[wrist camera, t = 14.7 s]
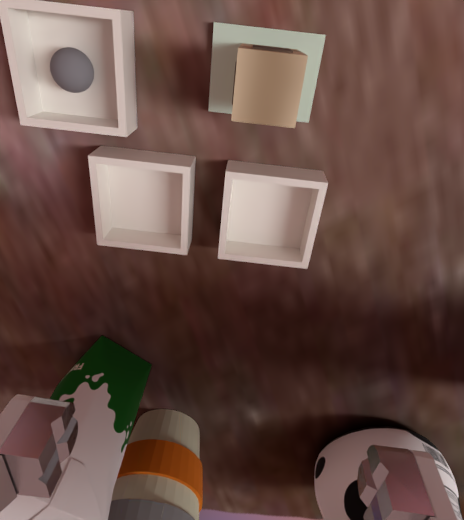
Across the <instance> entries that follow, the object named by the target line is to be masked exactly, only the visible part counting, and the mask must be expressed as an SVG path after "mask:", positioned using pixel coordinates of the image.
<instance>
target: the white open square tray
mask: <svg viewBox="0 0 464 520" xmlns="http://www.w3.org/2000/svg"><path fill="white" fill-rule="evenodd" d="M327 186H328V181H327V179H326V177H325V175H324V172H323V171H321V170H312V169H303V168H295V167H286V166H277V165H268V164H260V163H251V162H242V161H233V160H228V163H227V167H226V172H225V183H224V194H223V205H222V216H221V227H220V238H219V249H218V259H225V260H234V261H243V262H251V263H260V264H269V265H278V266H287V267H295V268H304V269H307V268H308V264H309V260H310V256H311V252H312V248H313V244H314V240H315V235H316V231H317V227H318V223H319V219H320V215H321V211H322V207H323V202H324V198H325V194H326V190H327Z"/></svg>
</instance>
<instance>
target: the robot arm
mask: <svg viewBox="0 0 464 520" xmlns="http://www.w3.org/2000/svg"><path fill="white" fill-rule="evenodd" d="M74 412H75V406H74V403H73V402H66V401H59V400H52V399H46V398H39V397H34V396H27V395H20V394H17V395H16V396H14V397H13V398H12V399H11V400H10V401H9V403H8V404H7V406H6V407H5V408H4V410H3V411H2V413H1V414H0V512H1V511H2V510H3V509H4V508H6V507H7V506H8V505H9V504H10V503H11V502H12V501H13V500H14V499H15V498H17V495H25V496H34V497H42V498H50V497H51V495H52V493H53V491H54V489H55V487H56V484H57V482H58V480H59V478H60V476H61V474H62V470H61V465H60V463H61V462H63V461H64V460H65V459H66V458H68V457H69V456H70V454H71V452H72V450H73V447H74V445H75V442H76V438H77V434H78V422H77V420H76V419H75V418H74V417H73V414H74ZM367 456H368V458H367V459H365V460H363V461H362V462H361V464H360V466H359V468H358V477H357V481H358V490H359V496H360V499H361V500H362V501H363V502H364V504H365V505H366V506H367V509H366V511H365V514H364V516H363V517H364V520H457V517H456V515H455V512H454V510H453V507H452V505H451V502H450V499H449V497H448V494H447V492H446V489H445V487H444V484H443V481H442V479H441V476H440V474H439V471H438V469H437V466H436V463H435V461H434V458H433V457H432V455H431V454H430V453H428V452H423V451H415V450H408V449H404V448H396V447H388V446H379V445H371V446H369V448H368V450H367Z"/></svg>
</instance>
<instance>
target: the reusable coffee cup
mask: <svg viewBox="0 0 464 520" xmlns="http://www.w3.org/2000/svg"><path fill="white" fill-rule="evenodd" d="M199 449H200V431H199V427H198V425H197V423H196V422H195V421H194V420H193V419H192V418H191V417H189V416H187V415H186V414H184V413H181V412H179V411H175V410H170V409H156V410H151V411H148V412H146V413H144V414H143V415H141V416H140V417H139V419H138V421H137V423H136V425H135V427H134V429H133V431H132V434H131V436H130V438H129V441H128V444H127V447H126V450H125V453H124V457H123V460H122V463H121V466H120V469H119V473H118V476H117V479H116V482H115V486H114V489H113V494H112V500H111V505H110V511H109V516H108V520H199V512H200V510H201V509H202V479H203V468H202V463H201V461H200V459H199Z"/></svg>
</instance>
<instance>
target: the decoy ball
mask: <svg viewBox="0 0 464 520" xmlns="http://www.w3.org/2000/svg"><path fill="white" fill-rule="evenodd" d="M50 71H51V75H52V77H53V79H54V81H55V82H56V83H57V84H58V85H59V86H60V87H61V88H62V89H64V90H66V91H68V92H72V93H80V92H83V91H85V90H87V89H88V88H89V87H90V86H91V84H92V82H93V79H94V68H93V65H92V63H91V61H90V59H89V58H88V57H87V56H86V55H85V54H84V53H83V52H82V51H80V50H78V49H76V48H72V47H65V48H61V49H59V50H57V51H56V52H55V53H54V54H53V56H52V58H51V61H50Z"/></svg>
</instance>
